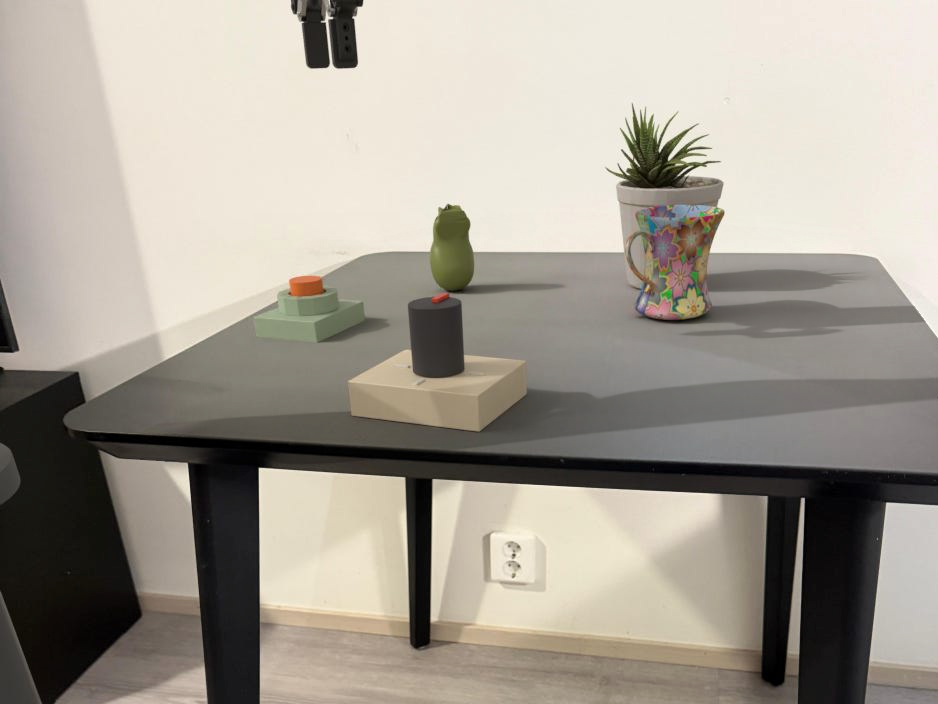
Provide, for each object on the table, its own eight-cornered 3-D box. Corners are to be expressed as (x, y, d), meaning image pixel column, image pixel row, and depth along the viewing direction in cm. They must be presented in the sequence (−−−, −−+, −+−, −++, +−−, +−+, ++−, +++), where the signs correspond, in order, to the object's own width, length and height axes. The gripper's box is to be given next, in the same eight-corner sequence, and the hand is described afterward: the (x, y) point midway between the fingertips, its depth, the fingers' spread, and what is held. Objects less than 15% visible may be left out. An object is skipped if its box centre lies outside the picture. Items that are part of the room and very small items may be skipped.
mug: (672, 300, 109) (679, 201, 103) (732, 314, 102) (743, 210, 96) (594, 318, 103) (597, 215, 97) (653, 334, 96) (659, 224, 91)
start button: (312, 300, 100) (310, 283, 99) (284, 298, 101) (282, 281, 100) (330, 293, 103) (328, 276, 102) (303, 291, 104) (301, 274, 103)
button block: (317, 343, 99) (312, 304, 96) (256, 337, 102) (250, 299, 99) (365, 320, 106) (361, 284, 104) (307, 316, 109) (302, 280, 107)
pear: (470, 284, 121) (466, 200, 115) (480, 292, 116) (476, 205, 111) (428, 288, 119) (423, 203, 114) (436, 296, 115) (431, 209, 110)
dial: (450, 379, 76) (446, 306, 73) (403, 374, 77) (397, 303, 74) (473, 365, 79) (470, 294, 76) (427, 360, 81) (423, 291, 78)
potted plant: (643, 269, 124) (652, 97, 113) (733, 281, 116) (752, 97, 105) (584, 286, 117) (588, 104, 106) (676, 300, 109) (690, 104, 98)
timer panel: (479, 432, 74) (477, 393, 72) (351, 416, 78) (347, 379, 77) (527, 394, 81) (526, 358, 80) (407, 381, 86) (405, 347, 84)
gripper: (245, -145, 82) (273, 70, 90) (287, -179, 71) (314, 69, 79) (327, -141, 84) (346, 67, 93) (379, -174, 73) (396, 66, 82)
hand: (331, 68), depth 86 cm, fingers open, 8 cm apart
